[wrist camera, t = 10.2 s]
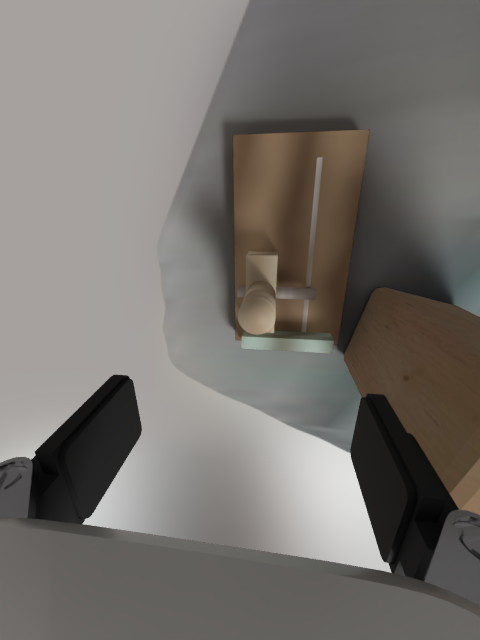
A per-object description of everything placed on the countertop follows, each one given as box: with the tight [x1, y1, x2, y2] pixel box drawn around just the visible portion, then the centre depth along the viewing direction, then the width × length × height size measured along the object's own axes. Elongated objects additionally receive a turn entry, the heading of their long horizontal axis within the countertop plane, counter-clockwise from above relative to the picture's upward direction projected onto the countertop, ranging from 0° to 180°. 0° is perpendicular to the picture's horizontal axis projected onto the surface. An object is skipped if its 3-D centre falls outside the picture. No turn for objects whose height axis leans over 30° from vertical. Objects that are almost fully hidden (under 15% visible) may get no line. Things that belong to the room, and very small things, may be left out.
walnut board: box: [233, 129, 370, 353], centre depth 27 cm, size 12×21×4 cm, turn 1°
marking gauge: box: [237, 251, 316, 335], centre depth 25 cm, size 8×8×9 cm
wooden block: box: [344, 287, 480, 515], centre depth 22 cm, size 10×10×20 cm
